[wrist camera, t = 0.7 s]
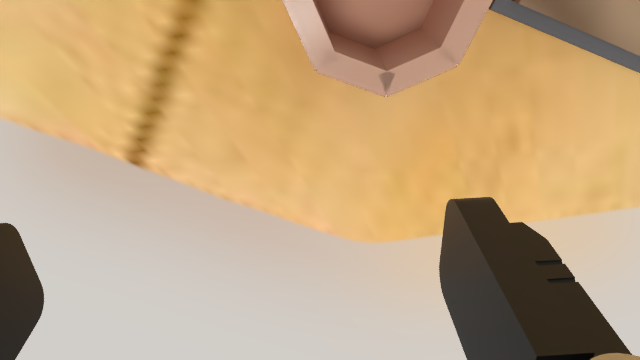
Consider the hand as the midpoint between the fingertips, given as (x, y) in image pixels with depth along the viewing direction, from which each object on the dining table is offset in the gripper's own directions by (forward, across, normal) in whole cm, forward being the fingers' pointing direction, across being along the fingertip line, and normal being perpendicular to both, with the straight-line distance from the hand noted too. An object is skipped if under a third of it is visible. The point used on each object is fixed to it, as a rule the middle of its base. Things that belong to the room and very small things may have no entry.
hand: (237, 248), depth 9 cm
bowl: (+26, -6, -1) cm, 27 cm away
